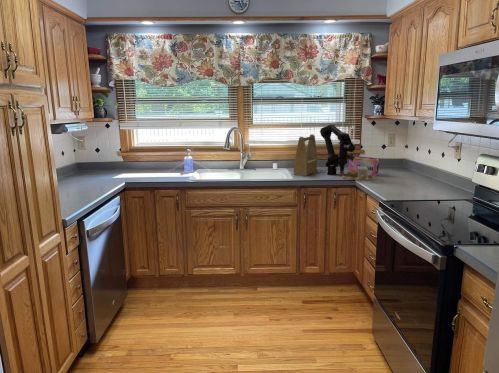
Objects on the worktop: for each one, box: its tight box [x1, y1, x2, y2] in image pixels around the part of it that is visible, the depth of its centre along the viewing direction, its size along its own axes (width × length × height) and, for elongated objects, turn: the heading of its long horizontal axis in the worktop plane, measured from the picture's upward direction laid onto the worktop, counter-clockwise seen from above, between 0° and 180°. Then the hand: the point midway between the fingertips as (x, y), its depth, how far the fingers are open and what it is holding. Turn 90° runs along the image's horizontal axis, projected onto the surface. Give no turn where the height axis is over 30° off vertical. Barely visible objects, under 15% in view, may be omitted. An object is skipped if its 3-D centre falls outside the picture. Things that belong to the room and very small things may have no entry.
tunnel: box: [357, 166, 368, 178], centre depth 281 cm, size 7×12×7 cm, turn 167°
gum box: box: [347, 155, 381, 177], centre depth 298 cm, size 24×8×14 cm, turn 45°
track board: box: [341, 175, 374, 181], centre depth 282 cm, size 22×12×2 cm, turn 77°
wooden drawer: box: [339, 168, 358, 177], centre depth 283 cm, size 13×8×8 cm, turn 78°
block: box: [350, 169, 356, 174], centre depth 282 cm, size 4×4×4 cm
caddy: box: [293, 134, 318, 177], centre depth 300 cm, size 29×11×30 cm, turn 154°
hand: (341, 171), depth 284 cm, fingers closed on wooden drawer, 3 cm apart
